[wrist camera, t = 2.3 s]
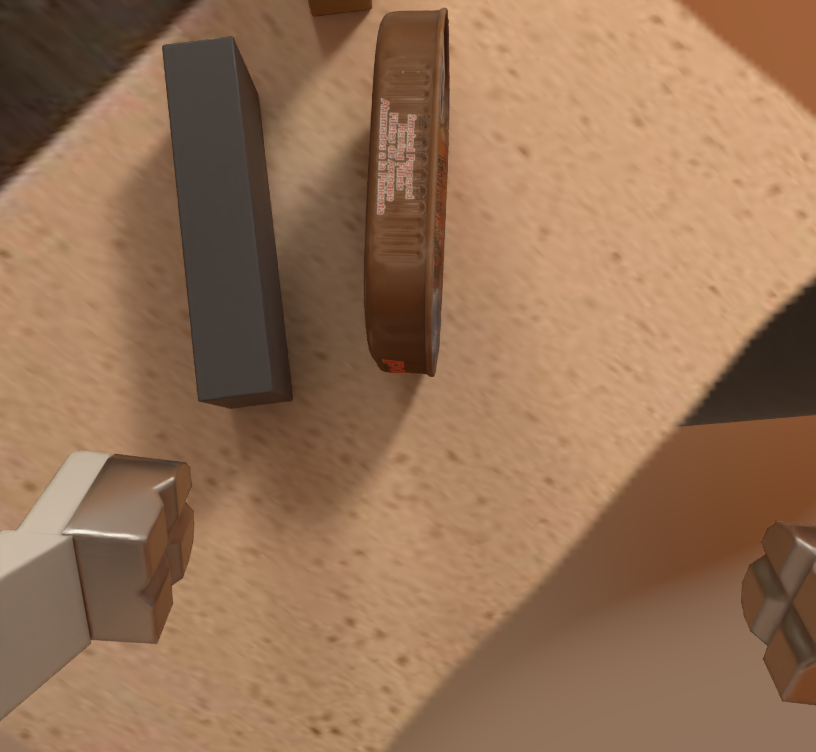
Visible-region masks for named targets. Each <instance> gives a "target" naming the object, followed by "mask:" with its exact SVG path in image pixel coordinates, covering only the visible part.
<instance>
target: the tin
mask: <svg viewBox="0 0 816 752" xmlns="http://www.w3.org/2000/svg"><path fill="white" fill-rule="evenodd" d="M448 24H449V20H448V10H447V8H442V9H440V10H436V11H397V12H390V13H388V14H386V15H385V16H384V17H383V19H382V21H381V24H380V27H379V31H378V37H377V44H376V53H375V63H374V76H373V93H372V110H371V127H370V142H369V162H368V182H367V206H366V229H365V253H364V308H365V324H366V333H367V341H368V346H369V351H370V353H371V356H372V358H373V359H374V360H375V362H376V363H377V365H378V367H379V368H380V370H382V371H384V372H389V373H417V374H427V375H428V376H430V377H434V376H435V372H436V365H437V359H438V352H439V344H440V327H441V304H442V286H443V262H444V238H445V217H446V194H447V172H448V146H449V93H450V89H449V79H450V76H449V26H448Z"/></svg>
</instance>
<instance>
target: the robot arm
mask: <svg viewBox="0 0 816 752" xmlns="http://www.w3.org/2000/svg"><path fill="white" fill-rule="evenodd" d="M191 488H192V480H191V470H190V466H189V465H188V464H187V463H186V462H178V461H170V460H162V459H153V458H145V457H137V456H129V455H121V454H114V455H113V454H108V453H99V452H91V451H82V450H77V451H76V452H74V453H72V454H70V455H69V456H68V457H67V459H66V460H65V461H64V463H63V464H62V466H61V467H60V469H59V470H58V471H57V473H56V474H55V476H54V477H53V479H52V480H51V482H50V483H49V484H48V486H47V487H46V489H45V490H44V492H43V493H42V494H41V496H40V497H39V499H38V500H37V502H36V503H35V504H34V506H33V507H32V509H31V510H30V512H29V513H28V514H27V516H26V517H25V519H24V520H23V522H22V523H21V524H20V526H19V527H18V529H17V530H16V531H12V530H3V531H1V532H0V721H1V720H2V719H3V718H4V717H6V716H7V715H8V714H9V713H10V712H11V711H13V710H14V709H15V708H16V707H17V706H18V705H20V704H21V703H22V702H23V701H24V700H26V699H27V698H28V697H29V696H30V695H31V694H33V693H34V692H35V691H36V690H37V689H38V688H40V687H41V686H42V685H43V684H44V683H45V682H47V681H48V680H49V679H50V678H51V677H52V676H54V675H55V674H56V673H57V672H58V671H59V670H61V669H62V668H63V667H64V666H65V665H66V664H68V663H69V662H70V661H71V660H72V659H73V658H75V657H76V656H77V655H78V654H79V653H80V652H82V651H83V650H84V649H85V648H86V647H87V646H89V645H90V644H91V640H103V641H119V642H134V643H150V644H157V643H158V640H159V638H160V635H161V633H162V630H163V628H164V625H165V623H166V620H167V618H168V615H169V612H170V610H171V607H172V605H173V597H172V585H174V584H175V583H176V582H178V581H179V580H181V579H182V578H183V576H184V573H185V571H186V568H187V565H188V562H189V559H190V554H191V549H192V544H193V538H194V511H193V509H192V508H191V507H190V506H189V505H188V504H187V503H186V499H187V497H188V495H189V492H190V490H191ZM761 544H762V547H763V549H764V552H765V555H764V556H762V557H761V558H759V559H757V560H756V561H754V562H753V563H752V564H750V565H749V567H748V569H747V572H746V574H745V576H744V579H743V581H742V590H741V604H742V609H743V614H744V618H745V620H746V622H747V624H748V627H749V629H750V631H751V632H752V633H753V634H754V635H755V636H756V637H758V638H759V639H760V640H761V641H762V642H763V643H765V644H766V645H767V649H766V652H765V654H764V657H763V660H764V662H765V665H766V667H767V669H768V671H769V673H770V675H771V678H772V680H773V682H774V684H775V686H776V688H777V690H778V693H779V695H780V697H781V699H782V701H783V702H792V703H800V704H808V705H816V525H812V524H800V523H791V522H780V521H775V522H774V523H773V524H772V525H771V526H769V527H768V528H767V530H766V532H765V534H764V536H763V538H762V540H761Z"/></svg>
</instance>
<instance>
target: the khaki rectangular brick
mask: <svg viewBox="0 0 816 752" xmlns="http://www.w3.org/2000/svg"><path fill="white" fill-rule="evenodd" d="M308 4H309V8H310V12H311V15H312V16H319V15H327V14H335V13H343V12H351V11H358V10H366V9H372V0H308Z"/></svg>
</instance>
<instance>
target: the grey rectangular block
mask: <svg viewBox="0 0 816 752" xmlns="http://www.w3.org/2000/svg"><path fill="white" fill-rule="evenodd" d="M162 50H163V60H164V70H165V80H166V89H167V99H168V109H169V119H170V129H171V139H172V149H173V158H174V168H175V178H176V188H177V198H178V208H179V217H180V227H181V237H182V247H183V257H184V267H185V277H186V286H187V296H188V306H189V316H190V326H191V336H192V345H193V355H194V365H195V375H196V385H197V395H198V401H199V402H203V403H208V404H212V405H217V406H221V407H226V408H230V409H231V408H239V407H247V406H254V405H262V404H270V403H277V402H285V401H292V400H293V395H292V386H291V377H290V369H289V360H288V351H287V342H286V334H285V325H284V316H283V307H282V299H281V290H280V281H279V273H278V264H277V255H276V246H275V238H274V229H273V220H272V211H271V203H270V194H269V185H268V177H267V168H266V159H265V150H264V142H263V133H262V124H261V115H260V107H259V98H258V93H257V90H256V88H255V86H254V84H253V81H252V79H251V77H250V74H249V72H248V70H247V67H246V65H245V63H244V61H243V58H242V56H241V54H240V51H239V49H238V47H237V45H236V42H235V40H234V38H233V37H232V36H230V37H222V38H214V39H206V40H198V41H190V42H182V43H174V44H167V45H163V46H162Z"/></svg>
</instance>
